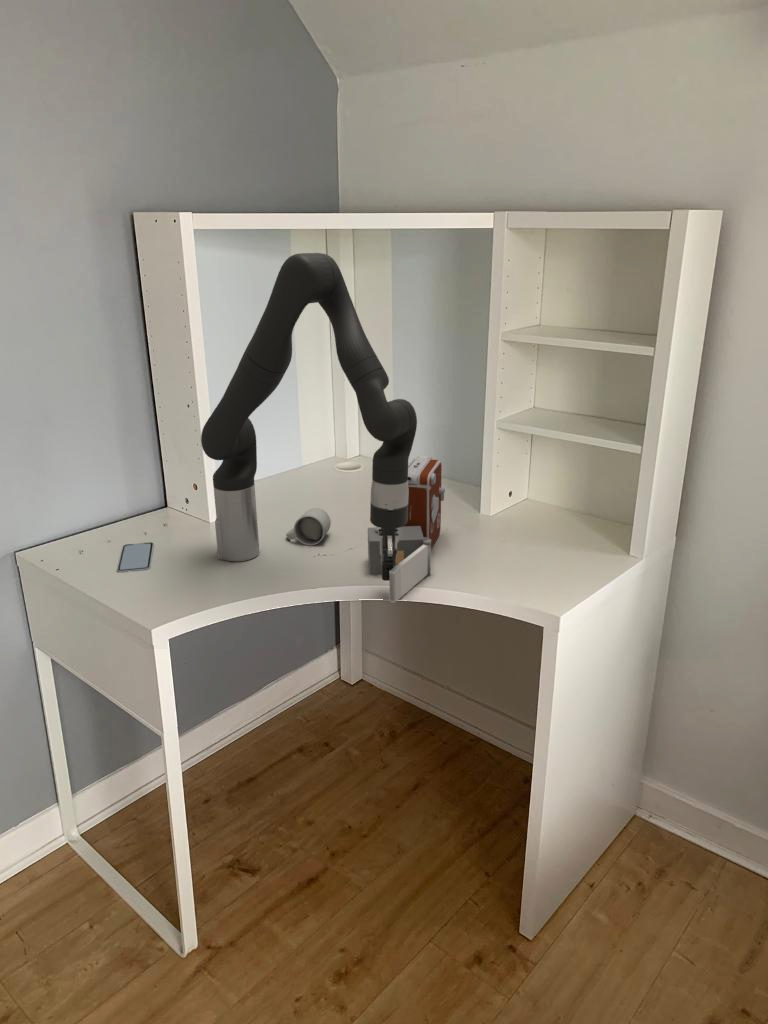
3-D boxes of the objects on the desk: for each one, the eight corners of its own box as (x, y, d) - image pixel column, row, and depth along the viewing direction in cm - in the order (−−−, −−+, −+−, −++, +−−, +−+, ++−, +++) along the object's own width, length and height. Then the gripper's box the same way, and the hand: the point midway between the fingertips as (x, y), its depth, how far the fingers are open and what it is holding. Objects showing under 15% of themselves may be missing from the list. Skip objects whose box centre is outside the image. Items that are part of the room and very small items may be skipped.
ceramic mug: (332, 533, 197) (331, 504, 195) (325, 546, 190) (323, 516, 187) (292, 532, 199) (289, 503, 197) (282, 544, 192) (280, 515, 189)
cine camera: (449, 526, 201) (451, 450, 194) (433, 557, 184) (434, 475, 176) (414, 523, 203) (414, 448, 196) (395, 553, 186) (394, 472, 179)
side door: (395, 604, 161) (395, 571, 159) (388, 602, 162) (388, 570, 159) (432, 572, 175) (432, 542, 172) (425, 571, 176) (425, 541, 173)
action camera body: (370, 578, 173) (369, 541, 170) (368, 559, 182) (367, 524, 179) (432, 576, 174) (432, 539, 171) (427, 557, 183) (427, 522, 180)
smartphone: (116, 571, 177) (122, 544, 191) (116, 575, 178) (123, 548, 191) (150, 568, 179) (154, 541, 192) (150, 572, 179) (154, 545, 193)
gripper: (369, 489, 163) (367, 565, 170) (372, 512, 151) (370, 594, 157) (405, 489, 164) (402, 565, 170) (411, 512, 151) (408, 593, 158)
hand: (387, 579), depth 164 cm, fingers closed
